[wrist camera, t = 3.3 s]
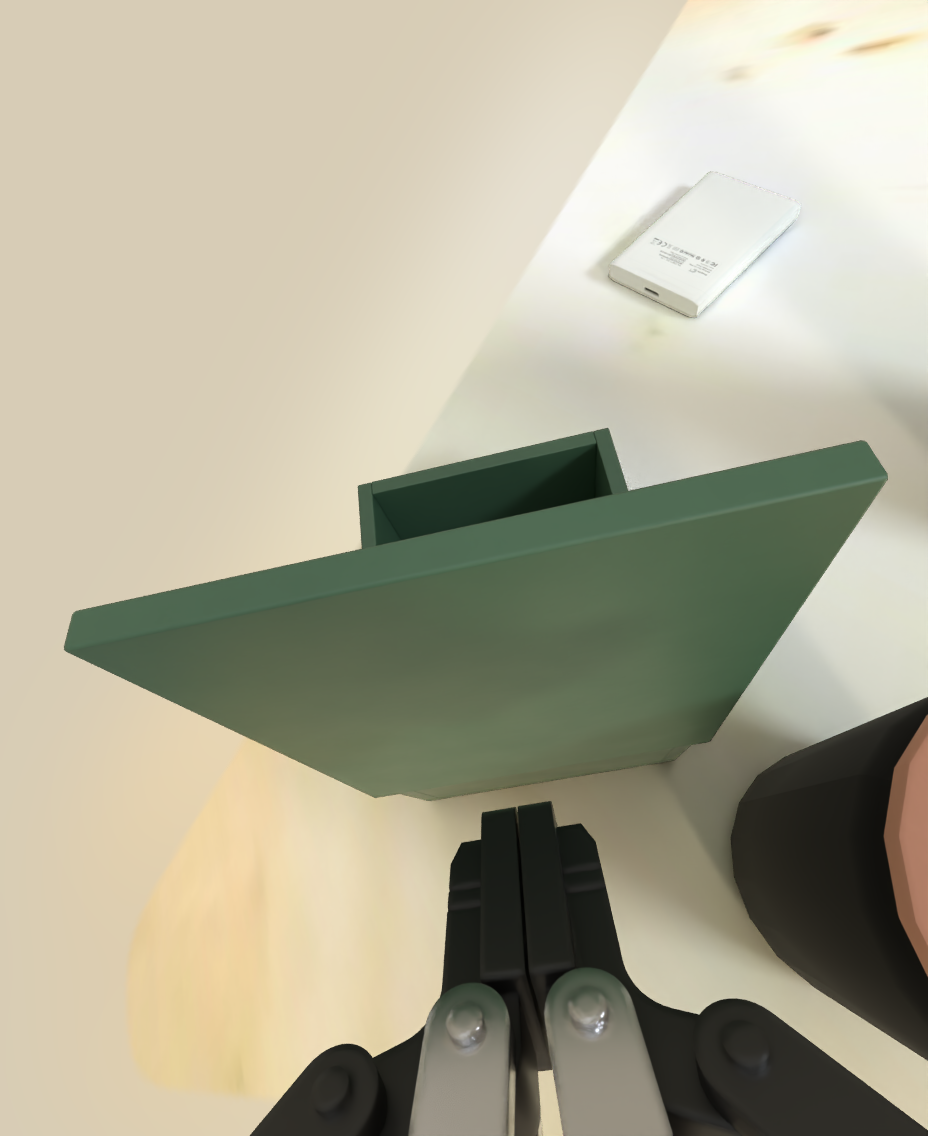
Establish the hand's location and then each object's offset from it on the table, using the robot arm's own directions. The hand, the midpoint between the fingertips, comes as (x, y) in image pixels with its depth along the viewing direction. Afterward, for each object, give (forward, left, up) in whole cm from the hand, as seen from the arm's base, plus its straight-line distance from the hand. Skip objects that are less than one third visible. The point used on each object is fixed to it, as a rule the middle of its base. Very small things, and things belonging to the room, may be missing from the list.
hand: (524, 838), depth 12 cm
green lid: (-2, -4, -3) cm, 5 cm away
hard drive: (-34, -28, -20) cm, 49 cm away
